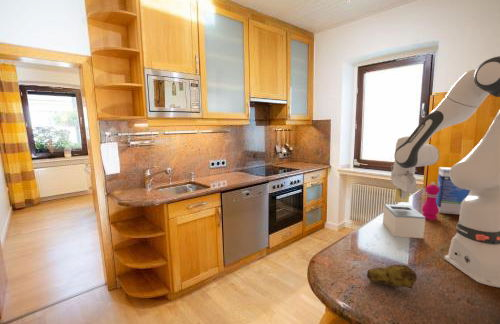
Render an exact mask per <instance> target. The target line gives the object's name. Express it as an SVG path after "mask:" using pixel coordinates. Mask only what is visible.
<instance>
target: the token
mask: <svg viewBox="0 0 500 324" xmlns="http://www.w3.org/2000/svg"><path fill="white" fill-rule="evenodd" d="M401 193H402V190H401V189H397V188H394V192H393V202H395V203H409V201H410V200H409V199H410V193H407V194H406V198H405V199H402V198H401V197H400V195H401Z"/></svg>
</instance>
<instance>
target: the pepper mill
mask: <svg viewBox="0 0 500 324" xmlns="http://www.w3.org/2000/svg"><path fill="white" fill-rule="evenodd" d="M425 192H426V194H425V195H426V196H425V197H426V200H425V203H424V204H423V206H422V208H421V211H422V212H423V213H422V215H423V216H425V220H431V221H435V220H437V217H438V215H437V214H439V210H438V206H437V204H436V198H437V197H438V196H437V193H439V187H438V186H437V185H436V183H435V182H434V181H432V182H431V183H430V184H429V185H427V186H426V187H425Z"/></svg>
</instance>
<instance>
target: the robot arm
mask: <svg viewBox="0 0 500 324" xmlns="http://www.w3.org/2000/svg"><path fill="white" fill-rule="evenodd" d="M490 95H491V96H493V97H494V98H495V97H496V98H500V55H499V56H494V57H491V58H489V59H486V60H485V61H483V62H482V63H481V64H479V65H478V67H477V68H476V69H471V70H468V71H466V72H464V74H462V75H461V76H460V77H459V79H458V80H456V82H455V83H454V84H453V85H452V86H451V88H450V89H449V90H448V92H447V94H446V95H445V97H444V98H443V99H442V100H441V101H440V102H439V104H438V105H437V106H436V107H435V108H434V109H433V110H432V111H431V112H429V114H427V115H426V116H425V117H424V118H423V119H422V121H421V122H419V124H418V126H417V127H416V128H415V130H414V131H413V132H412V133H411V134H410V135H404V136H403V135H402V136H401V137H398V139H397V141H396V144H395V151H394V161H393V164H392V165H390V170H391V172H390V173H391V175H390V181H391V184H393V185H394V186H396V189H401V190H402V193H401V195H400V197H401V198H402V199H405V198H406V194H407V193H409V194H413V195H414V194H415V193H416V189H417V180H416V179H417V178H416V177H415V176H414V175H415V174H416V168H417V167H426V166H431V165H435V164H436V163H437V162H438V161H439V159H440V151H439V149H438V148H437V146H435V145H432V144H429V143H427V142H428V141H429V140H430V139H431V138H432V136H434V135H435V134H436V133H438V132H439V131H442V130H443V129H446V128H449V127H452V126H456V125H458V124H461V123H464V122H466V121H467V120H469V119H470V118H471V117H472V116H473V115H474V114H475V113H476V112H477V110H478V109H479V107H481V106H482V104H483V103H484V101H485V100H486V99H487V97H488V96H490ZM450 168H451V170H450V179H451V181H452V183H453V184H454V185H455V186H457V187H459V188H461V189H466V190H469V194H468V196H467V197H466V198H465V199H464V200H463V201H462V203H461V209H460V215H459V218H458V221H457V223H456V224H455V225H456V227H455V231H456V234H455V235H454V236H453V237H451V240H450V245H449V249H448V254H445V255H444V258H443V259H444V260H445V261H447V262H449V263H450V264H451V265H452V266H454V267H455V268H457V270H460V271H461V272H463V273H464V274H465V275H467V276H468V277H469V278H471V279H472V280H474V281H475V282H477V283H480V284H482V285H484V286H485V285H487V286H489V287H494V288H495V287H496V288H500V109H499V110H498V112H497V113H496V115H495V117H494V118H493V120H492V122H491V124H490V125H489V128H488V129H487V130H486V132H485V135H483V137H482V138H481V140H480V141H479V142H478V143H477V144H476V145H475V146H474V147H473V148H472V149H471V150H470V152H468V154H467V155H466V156H464V157H463V158H462V159H461V160H460V161H458V162H456V163H455V164H453V165H452V166H451V167H450Z"/></svg>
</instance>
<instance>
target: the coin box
mask: <svg viewBox="0 0 500 324" xmlns="http://www.w3.org/2000/svg"><path fill="white" fill-rule="evenodd" d="M382 216H383V217H382V224H383V226H385V227H386V229H387V230H388V231H389V232H390V233H391V235H392V236H393V237H400V238H413V239H424V235H425V234H424V233H425V226H426V225H425V224H426V218H425V216H423V213H421V212H419V211H418V210H417V209H416V208H414V207H413V206H411V205H406V204H390V203H389V204H387V203H385V204H384V205H383V215H382Z"/></svg>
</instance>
